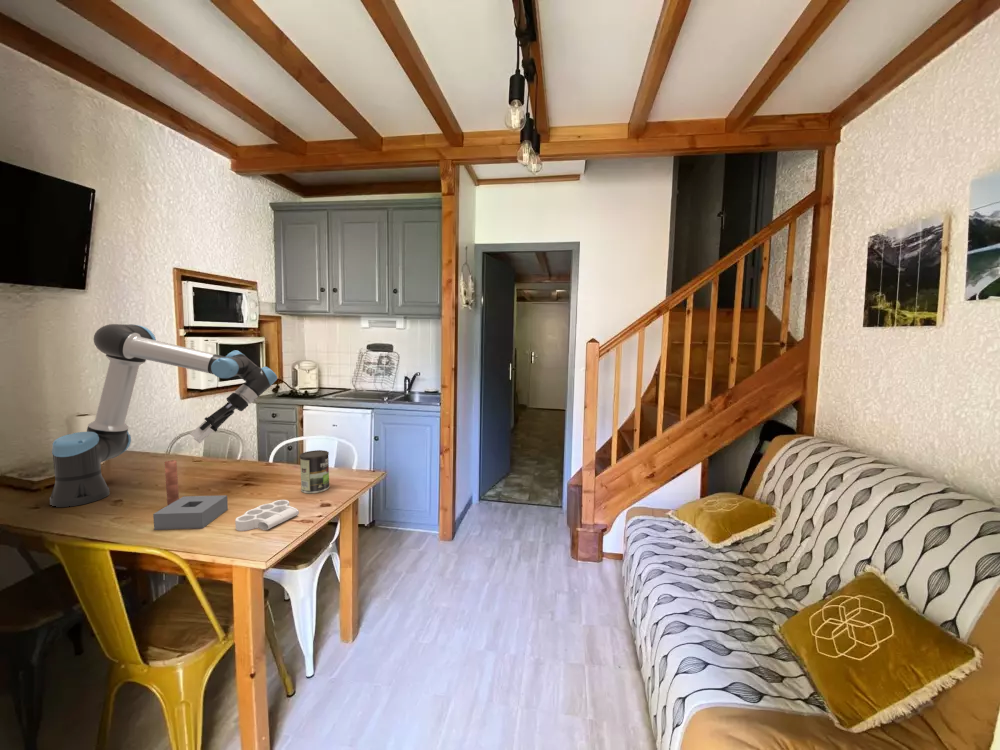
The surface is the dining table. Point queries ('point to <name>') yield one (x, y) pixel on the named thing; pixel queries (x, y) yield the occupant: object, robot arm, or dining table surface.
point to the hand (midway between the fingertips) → (194, 439)
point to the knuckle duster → (266, 516)
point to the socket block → (190, 512)
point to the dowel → (171, 481)
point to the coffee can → (314, 471)
